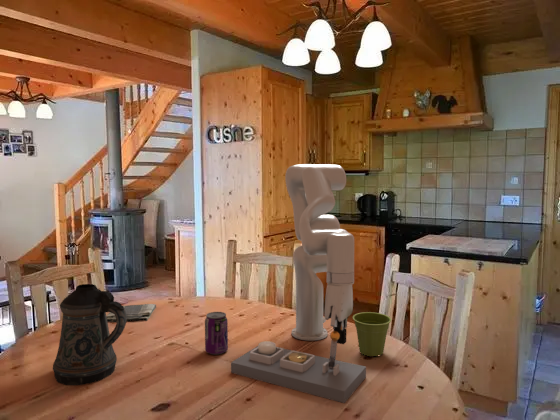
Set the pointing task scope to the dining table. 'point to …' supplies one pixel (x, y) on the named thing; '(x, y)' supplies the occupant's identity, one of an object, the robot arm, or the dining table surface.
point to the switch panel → (302, 373)
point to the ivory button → (266, 347)
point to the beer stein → (87, 336)
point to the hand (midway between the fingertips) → (339, 342)
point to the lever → (333, 348)
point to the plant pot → (371, 332)
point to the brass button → (298, 357)
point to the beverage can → (216, 333)
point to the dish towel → (135, 313)
